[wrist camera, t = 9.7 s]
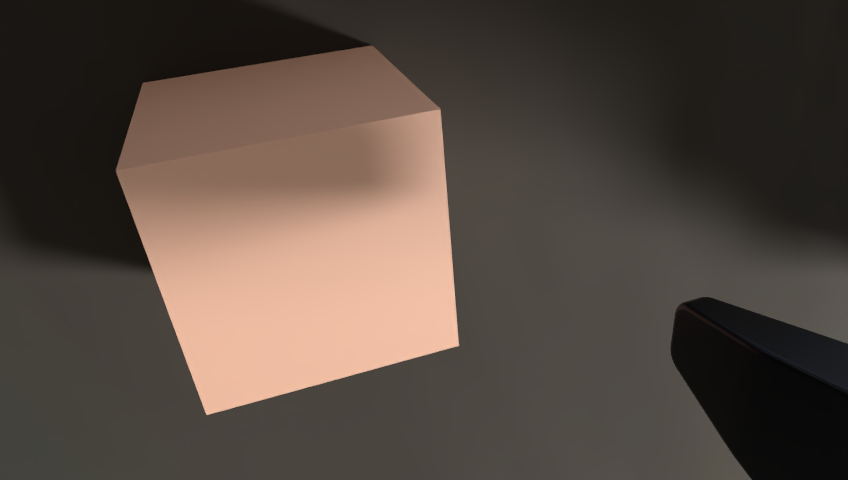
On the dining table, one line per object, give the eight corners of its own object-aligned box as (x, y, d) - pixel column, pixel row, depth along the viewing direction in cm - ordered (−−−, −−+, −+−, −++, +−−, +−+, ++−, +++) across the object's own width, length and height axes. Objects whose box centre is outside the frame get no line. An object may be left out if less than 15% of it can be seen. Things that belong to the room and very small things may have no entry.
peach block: (371, 44, 14) (440, 108, 10) (395, 232, 17) (458, 345, 13) (143, 82, 13) (116, 170, 9) (205, 276, 16) (206, 414, 12)
